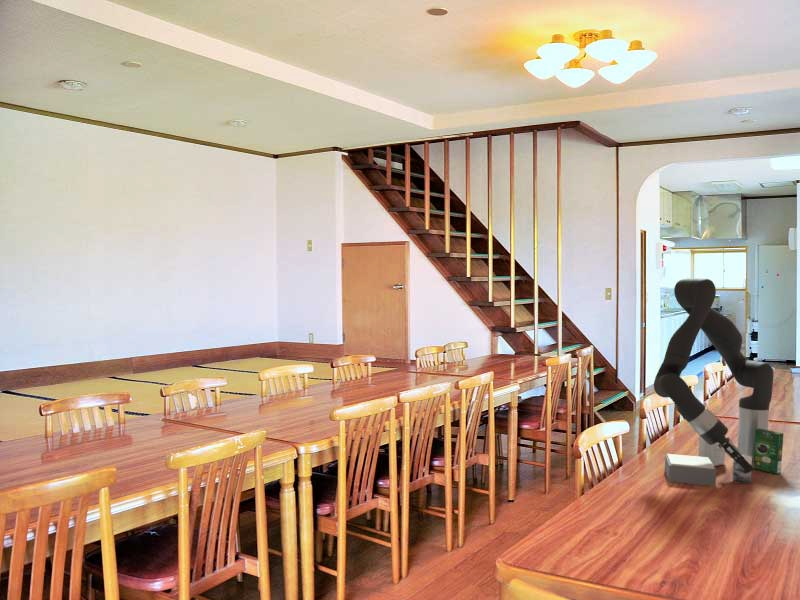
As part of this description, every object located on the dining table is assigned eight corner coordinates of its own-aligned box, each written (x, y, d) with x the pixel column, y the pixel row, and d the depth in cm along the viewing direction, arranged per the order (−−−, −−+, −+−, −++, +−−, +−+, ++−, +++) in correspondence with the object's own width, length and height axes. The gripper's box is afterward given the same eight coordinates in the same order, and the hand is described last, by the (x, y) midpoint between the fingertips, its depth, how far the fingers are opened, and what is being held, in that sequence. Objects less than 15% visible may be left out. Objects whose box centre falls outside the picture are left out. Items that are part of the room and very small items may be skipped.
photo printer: (714, 461, 235) (715, 424, 234) (726, 464, 231) (728, 427, 231) (696, 465, 229) (697, 428, 228) (708, 468, 225) (709, 430, 225)
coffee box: (782, 473, 221) (784, 432, 221) (777, 475, 220) (779, 433, 219) (757, 467, 228) (759, 427, 227) (752, 468, 226) (754, 428, 226)
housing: (731, 478, 215) (732, 452, 215) (749, 479, 214) (750, 453, 213) (734, 482, 210) (735, 456, 210) (752, 484, 209) (753, 457, 209)
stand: (664, 470, 222) (665, 453, 222) (708, 474, 219) (709, 456, 218) (668, 481, 210) (669, 463, 209) (715, 486, 206) (716, 467, 206)
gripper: (721, 422, 206) (764, 466, 204) (713, 413, 220) (754, 454, 217) (701, 438, 208) (743, 482, 205) (694, 428, 222) (734, 469, 219)
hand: (748, 468), depth 211 cm, fingers closed on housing, 5 cm apart
